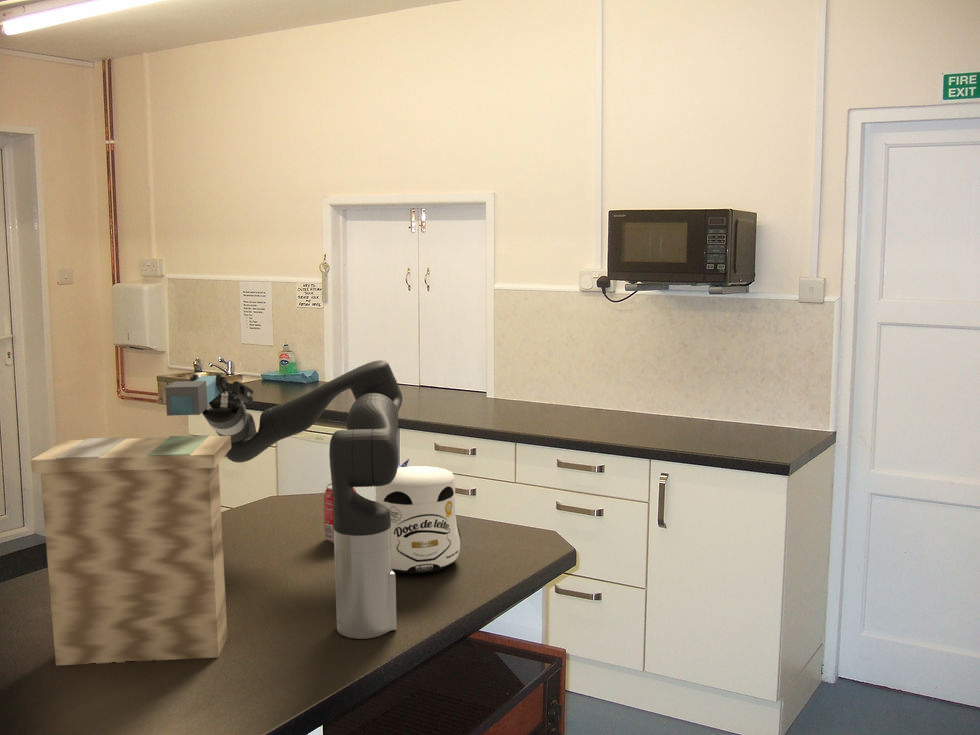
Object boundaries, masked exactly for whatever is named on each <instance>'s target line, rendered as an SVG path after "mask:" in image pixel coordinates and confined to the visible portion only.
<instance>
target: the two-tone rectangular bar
mask: <svg viewBox="0 0 980 735" xmlns="http://www.w3.org/2000/svg"><path fill="white" fill-rule="evenodd" d="M164 389H165V405H166V416H168V417H171V416H200V415H201V414H202V412H203V411H204V410H206V409H207V408H208V405H207V404H208V403H209V402H211V401H212V400H213V399H214V398H215V397H217V396H218V395H219V394H220V393H221V392H220V391H219V389H218V388H217V386H216V375H201V376H200V377H199V378H198V379H197V380H195V381H190V380H187V381H184V380H183V381H178V380H177V381H173V382H171V383H170V384H169V385H167V386H165V387H164Z"/></svg>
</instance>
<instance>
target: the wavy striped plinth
mask: <svg viewBox="0 0 980 735" xmlns="http://www.w3.org/2000/svg"><path fill="white" fill-rule="evenodd" d="M230 449H231V436H219V435H213V436H210V435H209V434H207V435H206V434H205V435H204V434H203V435H198V434H197V435H171V436H169V437H140V438H139V437H138V438H137V437H136V438H135V437H132V438H126V437H97V438H96V437H95V438H92V437H91V438H89V437H88V438H85V439H66V440H63V441H61V442H59V443H58V444H56V445H54V446H52V447H50V448H49V449H47V450H46V451H44V452H42V453H40V454H39V455H37V456H35V457H34V458H32V459H30V464H31V465H30V468H31V474H40V482H41V483H40V484H41V496H42V498H41V499H42V507H43V519H44V520H43V522H44V531H45V535H44V536H45V545H46V546H45V547H46V558H47V569H48V570H47V571H48V582H49V583H48V584H49V585H48V586H49V596H50V609H51V610H50V611H51V620H52V634H53V646H54V655H55V656H54V658H55V660H54V661H55V666H69V665H71V666H72V665H92V664H91V663H96V664H111V663H112V662H116V663H126V662H125V661H135V662H149V661H153V660H155V661H169V660H174V661H175V660H189V659H210V658H211V659H213V658H219V657H220V655H221V653H222V650H223V648H224V646H225V643H226V642H227V639H228V624H227V623H228V622H227V621H228V620H227V604H226V585H225V584H226V582H225V580H226V579H225V563H224V562H225V561H224V546H223V545H224V544H223V543H224V541H223V525H222V524H223V523H222V508H221V506H222V505H221V502H222V501H221V487H220V486H221V485H220V468H219V467H220V466H219V465H220V464H219V463H220V462H221V461H222V460H223V459H224V457H225V456H226V454H227V452H228V451H229V450H230ZM110 662H111V663H110ZM153 662H154V661H153ZM89 663H90V664H89ZM112 664H113V663H112Z"/></svg>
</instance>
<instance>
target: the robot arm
mask: <svg viewBox="0 0 980 735" xmlns="http://www.w3.org/2000/svg"><path fill="white" fill-rule="evenodd" d="M215 376H216V386H217V388H218V389H219V391H220V392H221V393H220V394H219V395H218V396H217V397H215V398H214V399H213V400H212V401H211V402H209V403H208V404H207V405H208V408H207V409H206V410H204V411H203V412H202V413H201V414H202V416H203V417H204V419H205V420H206V421H207V423H208V424H209V426H210V427H211V429H212V430H214V431H215V432H216V434H217V436H231V449H230V450H229V451H228V452H227V454H226V455H225V456H226V457H227V459H228V460H229V461H232V462H234V463H245V462H248V461H250V460H253V459H255V458H256V457H258V456H260V454H262V453H263V452H264V451H266V450H267V449H269V448H271V447H272V446H273V445H274V444H276V443H278V441H281V440H284V439H286V438H289V437H292V436H295V435H298V434H300V433H303V432H305V431H307V430H308V429H309V428H311V427H312V426H313V425H314V424H315V423H316V422H317V421H318V419H319V418H321V416H322V415H323V413H324V412H325V411H326V409H327V407H328V406H329V405H330V403H332V401H333V400H334V399H336V397H337V396H339V395H341V393H343V392H345V391H347V390H351V392H352V394H353V395H352V396H353V397H354V399H355V401H354V402H353V403H352V405H351V407H350V409H349V410H348V411H349V412H348V415H347V416H348V417H347V420H346V429H340V430H336V431H334V432H333V433H332V435H331V437H330V441H329V453H328V454H329V455H328V456H329V467H330V479H331V483H332V492H333V518H334V543H333V544H334V545H333V546H334V548H333V550H334V551H333V552H334V574H335V575H334V576H335V582H334V583H335V607H336V608H335V609H336V610H335V611H336V615H335V616H336V629H337V632H338V634H340V635H341V636H344V637H346V638H350V639H358V640H359V639H361V640H362V639H363V640H364V639H373V638H377V637H381V636H383V635H386V634H387V633H389V632H391V631H396V630H397V627H398V626H397V591H396V590H397V588H396V586H397V583H396V582H397V581H396V580H397V578H396V572H394V571H393V570H392V555H391V515H390V511H389V509H388V508H387V507H386V506H385V505H383V504H381V503H378V502H376V501H375V500H371V499H368V498H366V497H364V496H362V495H360V494H359V493H358V492H357V491H356V492H355V491H354V490H353V488H352V487H354V488H367V487H370V488H371V487H375V488H376V486H384V485H387V484H389V483H391V482H392V481H393V479H394V478H395V476H396V473H397V469H398V465H399V446H398V440H397V435H398V429H399V428H398V427H399V411H400V409H401V406H402V405H403V404H402V403H403V393H402V390H401V388H400V386H399V384H398V381H397V379H396V377H395V375H394V372H393V370H392V368H391V366H390V363H388V362H387V361H386V360H380V359H379V360H378V359H377V360H374V361H370V362H367V363H365V364H362V365H360V366H358V367H356V368H354V369H352V370H349V371H348V372H346V373H343V374H341V375H340V376H337V377H336V378H334V379H333V378H332V380H329V381H328V382H325V383H323V384H322V385H320V386H318V387H316V388H314V389H312V390H311V391H309V392H307V393H305V394H302V395H301V396H299V397H296V398H293V399H291V400H288V401H285V402H283V403H281V404H278V405H275V406H272V407H270V408H267V409H265V410H264V411H262V412H261V414H260V417H259V427H258V430H257V429H256V423H255V422H256V421H255V420H254V417H253V414H251V413H250V412H247V409H246V405H245V404H248V405H253V403H254V390H253V389H252V388H250V387H248V386H246V385H244V384H243V383H241V382H239V381H233V382H232V383H231V382H230V381H229V380H227V378H226V377H225V376H222V374H221V373H216V374H215ZM198 378H199V375H198V374H193V375H192V376H191V377H189V381H195V380H197V379H198ZM244 403H245V404H244Z"/></svg>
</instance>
